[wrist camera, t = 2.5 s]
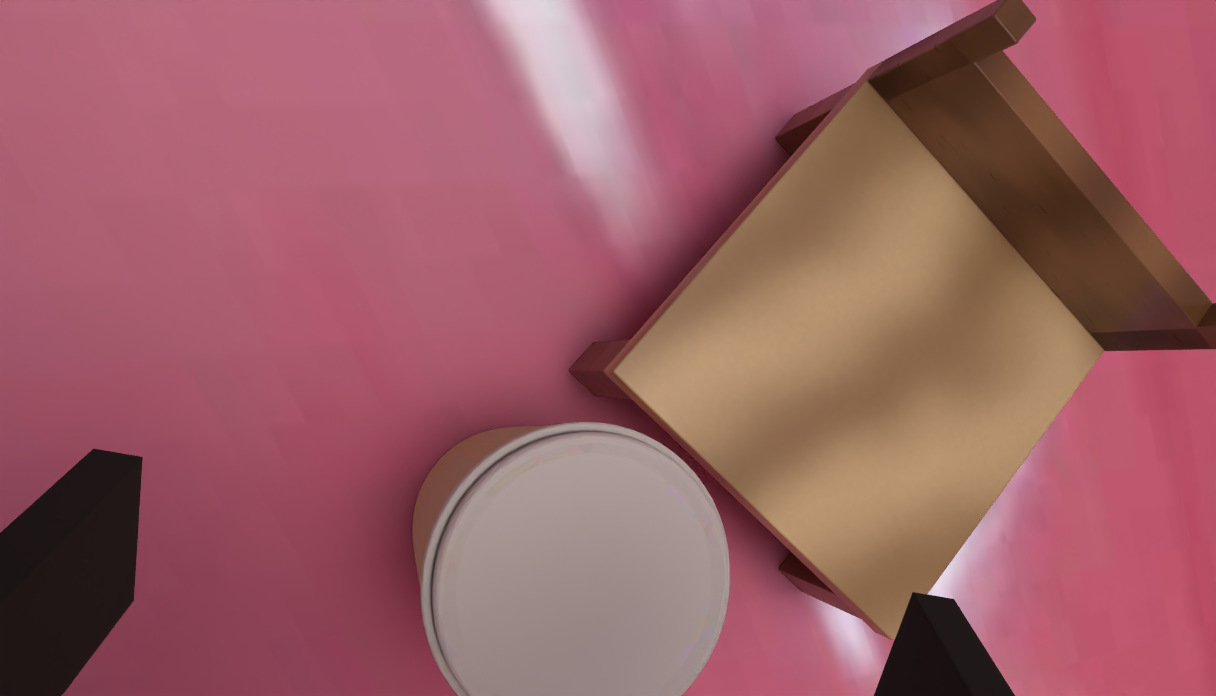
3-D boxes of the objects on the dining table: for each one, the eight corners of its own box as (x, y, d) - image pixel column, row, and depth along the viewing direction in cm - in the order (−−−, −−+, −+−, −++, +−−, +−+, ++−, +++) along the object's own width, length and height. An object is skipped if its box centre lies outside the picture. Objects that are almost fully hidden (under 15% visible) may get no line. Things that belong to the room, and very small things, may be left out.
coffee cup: (624, 621, 40) (749, 724, 29) (396, 654, 37) (434, 783, 26) (611, 398, 40) (731, 411, 29) (382, 415, 37) (414, 437, 26)
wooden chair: (561, 370, 39) (689, 373, 26) (795, 107, 43) (1015, -11, 30) (802, 598, 43) (1027, 704, 29) (1002, 335, 46) (1286, 323, 33)
